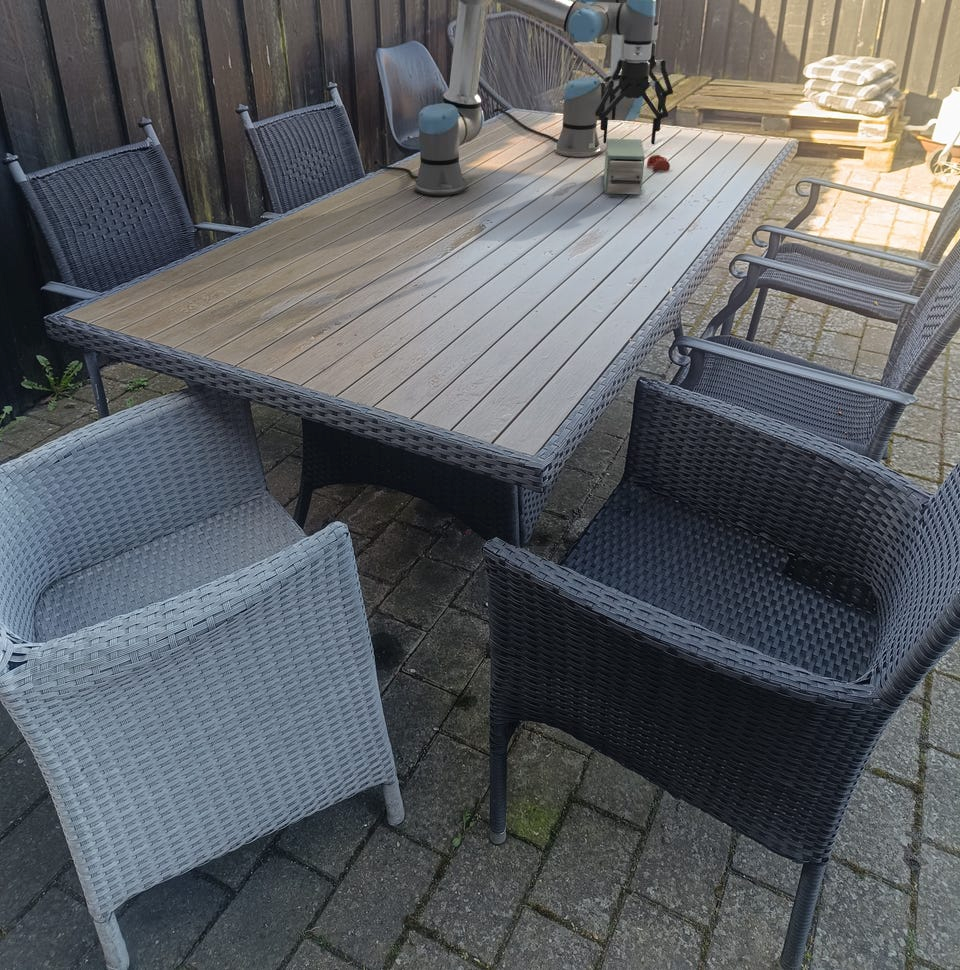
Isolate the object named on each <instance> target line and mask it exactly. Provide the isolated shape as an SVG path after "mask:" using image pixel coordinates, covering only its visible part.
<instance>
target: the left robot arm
mask: <svg viewBox="0 0 960 970" xmlns="http://www.w3.org/2000/svg"><path fill="white" fill-rule="evenodd" d="M493 2H495V3H498V4H499V5H502V6H505V7H507V8H509V9H512V10H513V11H516V12H518V13H521V14H523V15H525V16H527V17H530V18H532V19H534V20H537V21H539V22H542V23H544V24H546V25H549V26H551V27H553V28H555V29H557V30H560V31H563V32H564V33H567V34H569V35H570V37H571V38H572V39H573V40H574V41H576V42H578V43H589V42H592V41H594V40H596V39H597V38H600V37H602V36H604V35H611V36H612V35H624V47H623V59H624V61H623V62H622V70H621V79H620V81H615V80H613V79H610V80H609V85H608V88H607V90H606V92H605V94H604V96H603V98H602V100H601V101H600V103H599V105H598V107H597V109H596V111H595V115H596V116H599V117H600V118H601V120H600V125H599V126H600V127H599V129H600V131H603V140H602V142H603V144H606V143H607V139H608V126H609V125H608V123H609V120H608V117H606V116H607V115H608V114H609V113H610V112H611V111H612V110H613V108H614V107H615V106H616V105H617V104H618V103H619V102H620V101H621V100H622V99H623V98H624V96H625V97H627V98H640V97H641V96H642V97H643V99H644V100H643V101H645V103H646V104H647V106H648V107H649V108H650V110H651V112H652V113H653V114H654V116H655V117H653V119H652V130H651V140H650V144H651V145H655V142H656V135H657V134H656V133H657V132H660V131H661V124H662V123H661V122H662V119H664V118H668V117H669V113H668V110H667V107H666V103H665V104H664V101H663V98H662V94H661V92H660V84H661V82H660V79H657V80H655V81H653V80H650V76H649V69H650V63H649V61H648V60H650V58H651V48H652V37H653V28H654V20H655V5H656V0H627V3H609V2H600V1H596V2H587V3H585V4H583V3H580V2H579V0H458V2H457V11H456V21H455V31H454V40H453V49H452V58H451V68H450V77H449V87H448V89H447V90H446V91H445V92H444V93H443V95H442V103H441V102H440V103H435V104H429V105H427V106H425V107H422V109H421V110H420V112H419V113H418V122H417V123H418V136H419V138H418V139H419V157H420V158H419V159H420V161H419V162H420V164H419V168H418V172H417V175H414V174H413V171H411V170H410V169H408V168H406V167H399V166H386V165H383V164H381V162H380V160H379V159H375V160H374V162H373V164H375V165H377V166H378V167H379V168H380V169H384V170H391V171H392V170H393V171H402V172H407V173H408V174H409V176H410V177H411V178H412V179H414V180H415V179H416V180H415V183H414V184H415V185H414V186H415V192H417V193H418V194H420V195H424V196H430V197H450V196H455V195H459V194H461V193H463V192H464V191H466V181H465V179H464V176H463V172H462V169H461V165H460V146H462V145H464V144H466V143H469V142H472V141H473V140H474V139H475V138H477V136H478V135H480V133H481V132H482V130H483V128H484V123H485V113H484V111H483V109H482V107H481V105H482V98H481V96H480V95H479V94H478V90H479V83H480V82H479V81H480V76H481V75H480V74H481V67H482V58H483V51H484V50H483V49H484V43H485V42H484V41H485V35H486V27H487V18H488V11H489V5H490V4H491V3H493ZM618 85H619V87H620V89H621V91H620V93H619V94H618V95H617V96H616V98H615V99H614V100H613V101H612V102H611V103H610V104H609V105H608V107H607V108H606V109H605V110H604V111H603V112H601V111H602V109H603V107H604V105H605V103H606V101H607V100H608V98H609V96H610V94H611V92H612V90H613V89H615V88H616V86H618ZM650 87H651V89H652V90H654V92H655V94H656V97H657V100H659V103H660V106H661V113H659V111H658V110H657V108H658V107H656V105H655V103H654V102H653V100H652V98H650V96H649V94H648V93H647V92H646V91H647V90H648V89H649V88H650Z"/></svg>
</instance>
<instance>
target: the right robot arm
mask: <svg viewBox="0 0 960 970" xmlns="http://www.w3.org/2000/svg"><path fill="white" fill-rule="evenodd" d="M596 1H600V2H609V3H627V0H578V2H580V3H583V4H585V3H587V2H596ZM661 6H662V0H656V5H655V20H654V28H653V37H652V48H651V58H650V60H648V61H649V63H650V69H649V78H650V79H651V81H655V80H658V78H657V76H656V75H655V73H654V72H653V69H655V67H656V66H657V68H658V69H660V73H661V75H662V78H663V81H664V84H665V87H666V90H665V89H664V87H663V85H662V84H661V83H660V92H661V95H662V98H663V101H664V104H665V105H666V103H667V97H668V96H670V95H673V94H674V90H673V87H672V84H671V82H670V81H671V80H670V78H669V75H668V72H667V69H666V60H665V59H664V58H661V59H657V60H656V52H657V42H656V41H657V40H658V31H659V23H660V22H659V21H660V13H661ZM610 47H611V49H610V71H609V73H608V74H607V75H606V76H605V82H601V79H600V78H599V77H595V76H592V77H590V76H588V77H580V78H575V79H572V80H570V81H568V82H567V83H566V84H565V87H564V93H563V112H562V128H561V131H560V135H559V136H558V138H556V137H554V136H552V135H550V134H547V133H544V132H541V131H538V130H535V129H533V128H531V127H528V126H527V125H525V124H524V123H522V122H520V121H519V119H517V118H516V117H515V116H514V115H512V114H511V113H509V112H508V111H505V110H504V109H502V108H499V107H498V108H495V109H494V110H493V113H496V112H501V113H502V114H505V115H507V116H508V117H509V118H511V119H512V120H513V121H514V122H516V123H517V124H518V125H519V126H521V128H523V129H525V130H527V131H529V132H531V133H534V134H536V135H539V136H542V137H545V138H547V139H549V140H552V141H553V142H555V143H556V146H555V152H556V153H557V154H558V155H561V156H562V157H563V156H564V157H570V158H590V157H596V156H598V155H599V154H600V153H601V143H600V140H599V135H598V131H597V124H598V123H597V122H598V121H601V118H600V117H599V116H596V115H595V111H596V109H597V107H598V105H599V103H600V101H601V100H602V98H603V96H604V94H605V92H606V90H607V88H608V85H609V80H610V79H613V80H615V81H620V79H621V70H622V62H623V61H624V59H623V47H624V35H611V46H610ZM620 91H621V89H620V87H619V85H618V86H616V88H615V89H613V90H612V92H611V94H610V96H609V98H608V100H607V101H606V103H605V105H604V107H603V109H602V111H601V112H603V111H604V110H605V109H606V108H607V107H608V105H609V104H610V103H611V102H612V101H613V100H614V99H615V98H616V96H617V95H618V94H619V93H620ZM657 100H658V99H657ZM644 101H645V100H644V99H643V97H642V96H641V97H640V98H627V97H625V96H624V98H623V99H622V100H621V101H620V102H619V103H618V104H617V105H616V106H615V107H614V108H613V110H612V111H611V112H610V113H609V114H608V115H607V116H606V117H608V121H623V122H626V121H634V120H637V119H638V118H639V116H640V114H641V111H642V109H643V104H644ZM656 108H657V110H658V111H659V113H661V112H662V109H661V106H660V103H659V100H658V101H657V107H656Z"/></svg>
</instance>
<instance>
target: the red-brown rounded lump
mask: <svg viewBox="0 0 960 970" xmlns="http://www.w3.org/2000/svg"><path fill="white" fill-rule="evenodd" d="M670 166H671V165H670V163H669V161H668V158H667V157H665V156H661V154H653V155H651V156H649V157H648V159H647V162H646V167H647V168H649V167H652V171H653V172H662V171H669V170H670V169H671V168H670Z"/></svg>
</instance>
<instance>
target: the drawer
mask: <svg viewBox="0 0 960 970" xmlns="http://www.w3.org/2000/svg"><path fill="white" fill-rule="evenodd" d="M642 167H643V162H641V161H639V160H634V159H611V161H610V167H609V179H608V190H607V193H614V194H613V195H637V194H640V185H641V176H642Z"/></svg>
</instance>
